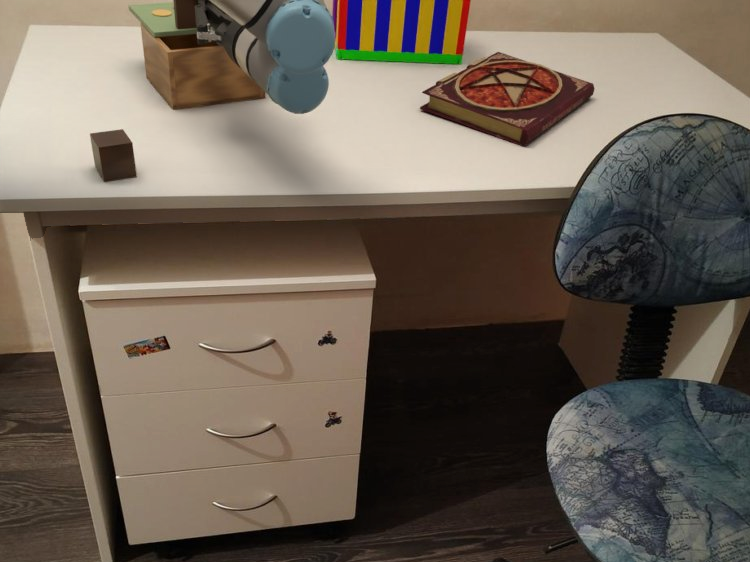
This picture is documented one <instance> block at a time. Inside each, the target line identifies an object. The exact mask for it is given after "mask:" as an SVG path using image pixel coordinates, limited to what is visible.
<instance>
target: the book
mask: <svg viewBox="0 0 750 562" xmlns="http://www.w3.org/2000/svg"><path fill="white" fill-rule="evenodd" d="M594 92H595V85H594V83H593V82H590V81H587V80H583V79H581V78H578V77H575V76H572V75H569V74H565V73H563V72H560V71H558V70H557V71H556V70H554V69H552V68H550V67H548V66H545V65H543V64H540V63H535V62H532V61H527V60H524V59H522V58H518V57H515V56H512V55H509V54H507V53H504V52H500V51H497V52H495V53H493V54H491V55H489V56H487V57H486V56H485V57H481V58H480V59H477V60H476V61H474V62H472V63H469V64H468V65H467V66H466V68H465V69H463V70H461V71H459V72H453V73H451V74H449V75H447V76H445V77H443V78H441V79H439V80H437V81H436V82H435V85H434V84H433V85H432V86H431V87H428V88H427V89H425V90H423V91H421V93H422V94H423V95H426V96H429V100H428V102H427V103H425V104H423V105H421V106H419V110H422V111H424V112H427V113H430V114H433V115H436V116H438V117H441V118H444V119H447V120H449V121H452V122H456V123H458V124H461V125H462V126H466V127H468V128H471V129H474V130H477V131H480V132H482V133H484V134H488V135H491V136H494V137H496V138H499V139H502V140H505V141H507V142H510V143H513V144H516V145H518V146H521V147H524V146H526V145H527V144H529V143H530V142H531V141H532V140H534V139H535V138H537V137H538V136H539V135H541V134H542V133H544V132H545V131H546V130H547V129H549V128H550V127H552V126H553V125H554V124H556V123H558V121H560V120H561V119H562V118H564V117H565V116H567V115H568V114H569V113H571V112H572V111H574V110H575V109H576V108H578V107H580V105H582V104H583V103H584V102H586V101H587V100H588V99H590V98H591V97H592V96H593V95H594Z"/></svg>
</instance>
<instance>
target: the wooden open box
mask: <svg viewBox="0 0 750 562" xmlns="http://www.w3.org/2000/svg"><path fill="white" fill-rule="evenodd" d="M139 24H140V33H141V43H142V50H143V59H144V69H145V78H146V79H147V80H148V82H149V83H150V84H151V85H152V86H153V88H154V89H155V91H157V92H158V94H159V95H160V96H161V97H162V98H163V100H164V101H165V102H166V103H167V104H168V105H169V107H170V108H171V110H180V109H189V108H196V107H203V106H205V107H206V106H213V105H220V104H228V103H235V102H236V103H237V102H244V101H253V100H260V99H266V92H265V91H264V90H263V89H262V88H261V87H260V86H259V85H258V84H257V83H256V82H254V81H253V80H252V79H251V78H250V77H249V76H248V75H247V74H246V73H245V72H244V71H243V70H242V69H241V68H239V67H238V66H237V65H236V64H235V63H234V62H233V61H232V60H231V58H230V57H229V56H228V54H227V52H226V50H225V48H224V47H222V46H219V45H218V44H217V43H216V42H215V40H211V42H207V43H206V44H204V45H200V44H198V41H197V34H190V35H178V36H166V37H154V36H153V35H152V34H151V33H150V32H149V31H148V30H147V29H146V28H145V27H144V26H143V24H142V23H141V22H139Z"/></svg>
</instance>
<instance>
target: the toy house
mask: <svg viewBox="0 0 750 562" xmlns="http://www.w3.org/2000/svg"><path fill="white" fill-rule="evenodd" d="M471 2H472V0H332V11H331V12H332V13H331V16H332V18H333V22H334V31H335V46H334V51H335V55H336V59H337V60H349V61H354V60H358V61H359V60H361V61H362V60H363V61H377V62H393V63H394V62H395V63H396V62H402V63H403V62H404V63H419V64H423V63H427V64H430V63H431V64H445V65H446V64H447V65H450V64H452V65H462V62H463V55H464V49H465V43H466V42H465V41H466V34H467V28H468V22H469V14H470V8H471Z"/></svg>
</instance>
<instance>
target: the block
mask: <svg viewBox="0 0 750 562" xmlns="http://www.w3.org/2000/svg"><path fill="white" fill-rule="evenodd" d="M89 137H90V145H91V151H92V156H93V162H94V168H95V169H96V171H97V173H98V174H99V176H100V177H101V180H102V181H103V182H104V183H105V182H106V183H107V182H112V181H117V180H118V181H119V180H124V179H131V178H137V177H138V174H137V168H136V159H135V153H134V145H133V144H134V143H133V141H132V140H131V139H130V137H129V136H128V134H127V133H126V131H125V129H124V128H120V129H114V130H106V131H99V132H98V131H97V132H90V133H89Z"/></svg>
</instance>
